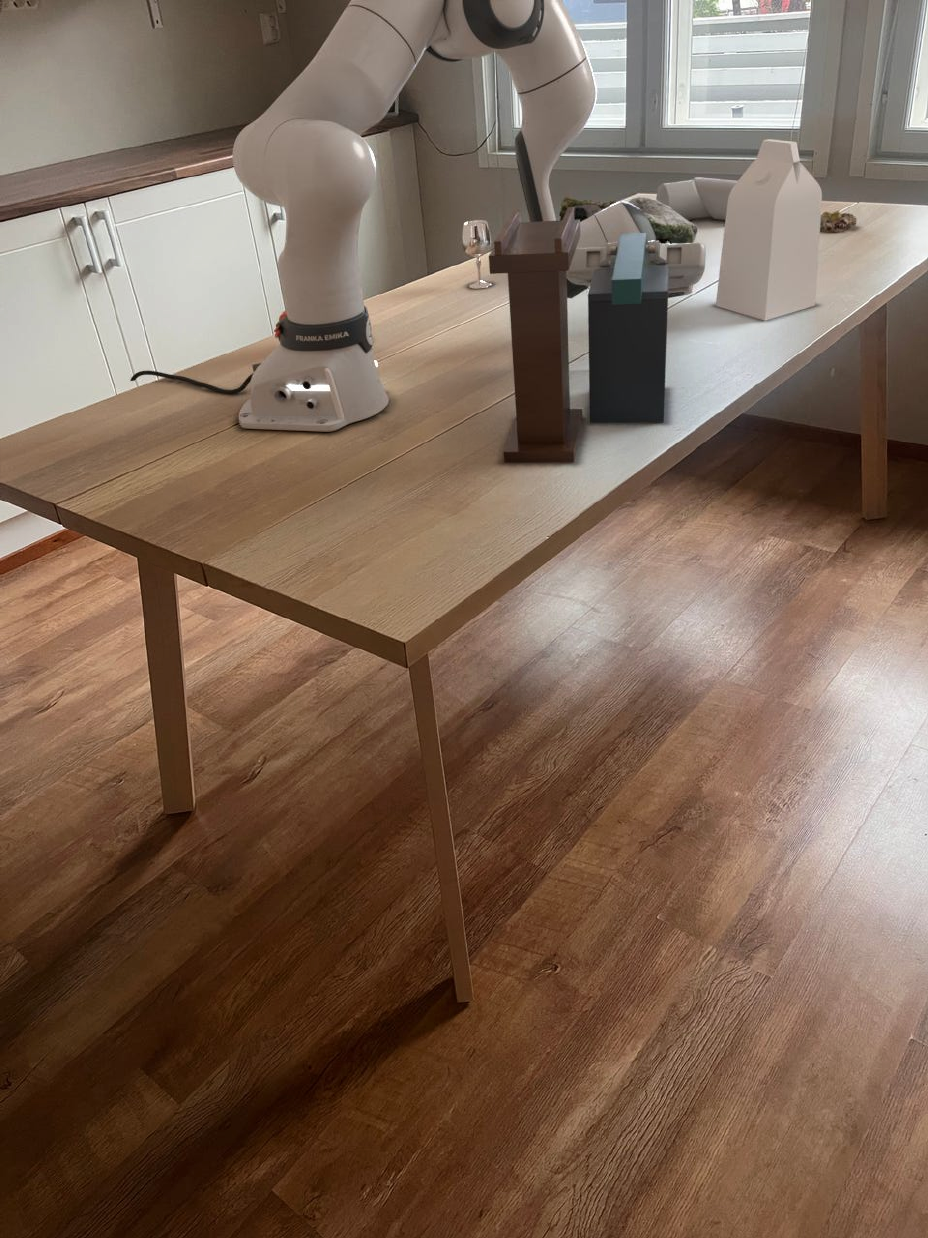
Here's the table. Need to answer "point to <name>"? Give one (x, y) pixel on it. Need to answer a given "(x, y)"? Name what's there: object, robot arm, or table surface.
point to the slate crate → (627, 350)
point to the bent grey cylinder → (697, 197)
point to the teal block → (629, 269)
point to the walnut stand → (539, 335)
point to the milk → (771, 236)
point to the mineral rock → (837, 221)
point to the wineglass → (477, 245)
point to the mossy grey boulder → (659, 215)
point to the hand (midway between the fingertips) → (632, 247)
